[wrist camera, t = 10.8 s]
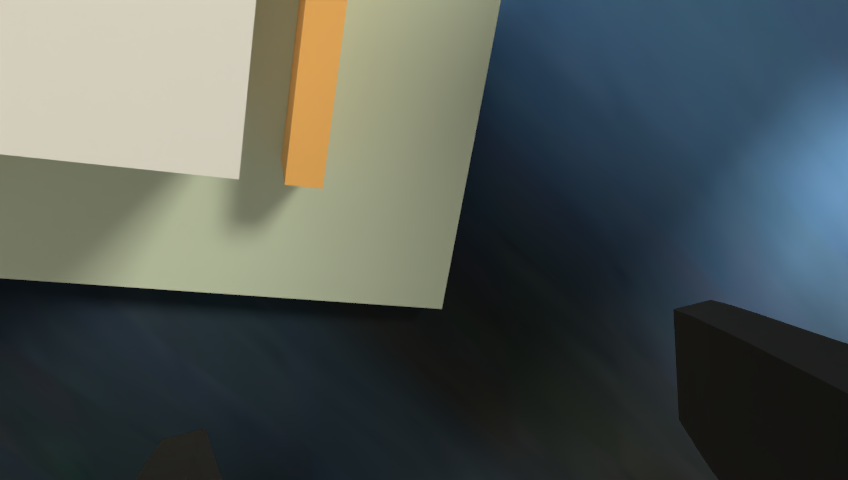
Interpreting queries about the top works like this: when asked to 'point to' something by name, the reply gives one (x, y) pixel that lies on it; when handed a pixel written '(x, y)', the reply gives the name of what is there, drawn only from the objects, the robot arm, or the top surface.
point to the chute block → (127, 82)
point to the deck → (288, 170)
